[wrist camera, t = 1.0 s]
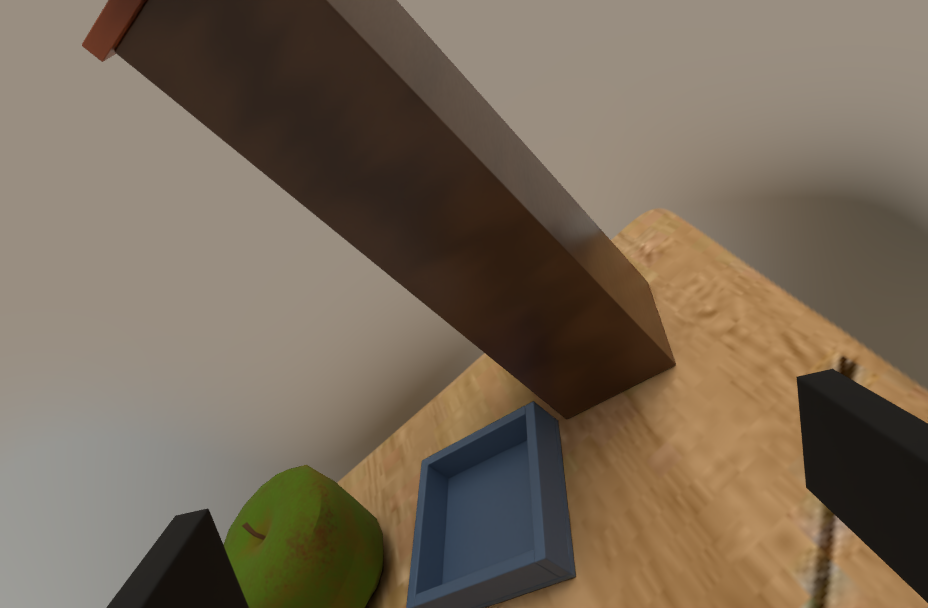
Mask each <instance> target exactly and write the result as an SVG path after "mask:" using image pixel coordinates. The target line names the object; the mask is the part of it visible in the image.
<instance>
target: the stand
mask: <svg viewBox="0 0 928 608" xmlns="http://www.w3.org/2000/svg"><path fill="white" fill-rule="evenodd" d="M82 46H83V47H84V48H85V49H87V50H88V51H89V52H90V53H92V54H93V55H94V56H95V57H97V58H98V59H99V60H101V61H102V62H103V61H105V60H106V59H108V58H110V57H111V56H113V55H114V54H118V55H119V56H120V57H121V58H123V59H124V60H125V61H126V62H127V63H129V64H130V65H131V66H132V67H134V68H135V69H136V70H137V71H139V72H140V73H141V74H142V75H144V76H145V77H146V78H147V79H148V80H150V81H151V82H152V83H153V84H155V85H156V86H157V87H158V88H160V89H161V90H162V91H163V92H165V93H166V94H167V95H168V96H169V97H171V98H172V99H173V100H174V101H176V102H177V103H178V104H179V105H181V106H182V107H183V108H184V109H185V110H187V111H188V112H189V113H190V114H192V115H193V116H194V117H195V118H196V119H198V120H199V121H200V122H201V123H203V124H204V125H205V126H206V127H207V128H209V129H210V130H211V131H212V132H214V133H215V134H216V135H217V136H219V137H220V138H221V139H222V140H223V141H225V142H226V143H227V144H228V145H230V146H231V147H232V148H233V149H235V150H236V151H237V152H238V153H240V154H241V155H242V156H243V157H244V158H246V159H247V160H248V161H249V162H251V163H252V164H253V165H254V166H255V167H257V168H258V169H259V170H260V171H262V172H263V173H264V174H265V175H267V176H268V177H269V178H270V179H271V180H273V181H274V182H275V183H277V184H278V185H279V186H280V187H281V188H283V189H284V190H285V191H286V192H287V193H289V194H290V195H291V196H292V197H294V198H295V199H296V200H297V201H299V202H300V203H301V204H302V205H304V206H305V207H306V208H307V209H308V210H310V211H311V212H312V213H313V214H315V215H316V216H317V217H318V218H320V219H321V220H322V221H323V222H325V223H326V224H327V225H328V226H329V227H331V228H332V229H333V230H334V231H335V232H337V233H338V234H339V235H341V236H342V237H343V238H344V239H345V240H347V241H348V242H349V243H350V244H352V245H353V246H354V247H355V248H356V249H358V250H359V251H360V252H361V253H363V254H364V255H365V256H366V257H367V258H369V259H370V260H371V261H372V262H374V263H375V264H376V265H377V266H379V267H380V268H381V269H382V270H384V271H385V272H386V273H387V274H388V275H390V276H391V277H392V278H393V279H394V280H396V281H397V282H398V283H399V284H401V285H402V286H403V287H404V288H406V289H407V290H408V291H409V292H411V293H412V294H413V295H414V296H415V297H417V298H418V299H419V300H420V301H422V302H423V303H424V304H425V305H426V306H428V307H429V308H430V309H431V310H433V311H434V312H435V313H436V314H438V315H439V316H440V317H441V318H443V319H444V320H445V321H446V322H447V323H449V324H450V325H451V326H452V327H454V328H455V329H456V330H457V331H459V332H460V333H461V334H462V335H463V336H465V337H466V338H467V339H468V340H470V341H471V342H472V343H473V344H474V345H476V346H477V347H478V348H479V349H481V350H482V351H483V352H484V353H486V354H487V355H488V356H489V357H490V358H492V359H493V360H494V361H495V362H497V363H498V364H499V365H500V366H502V367H503V368H504V369H505V370H506V371H508V372H509V373H510V374H511V375H513V376H514V377H515V378H516V379H518V380H519V381H520V382H521V383H522V384H524V385H525V386H526V387H527V388H529V389H530V390H531V391H532V392H534V393H535V394H536V395H537V396H538V397H540V398H541V399H542V400H543V401H545V402H546V403H547V404H548V405H550V406H551V407H552V408H553V409H554V410H556V411H557V412H558V413H559V414H561V415H562V416H563V417H564V418H566V419H568V418H570V417H572V416H574V415H576V414H578V413H580V412H582V411H584V410H586V409H588V408H590V407H592V406H594V405H596V404H598V403H600V402H602V401H604V400H606V399H608V398H610V397H612V396H614V395H616V394H618V393H620V392H622V391H624V390H626V389H628V388H630V387H632V386H634V385H636V384H638V383H640V382H642V381H644V380H646V379H648V378H650V377H652V376H654V375H656V374H658V373H660V372H662V371H664V370H666V369H668V368H670V367H672V366H674V365H676V364H675V361H674V358H673V355H672V352H671V349H670V346H669V343H668V340H667V337H666V334H665V331H664V328H663V325H662V323H661V320H660V317H659V314H658V311H657V308H656V305H655V302H654V299H653V296H652V293H651V290H650V288H649V285H648V282H647V281H646V280H645V278H644V277H643V276H642V275H641V274H640V273H639V272H638V271H637V269H636V268H635V267H634V266H633V265H632V264H631V263H630V262H629V261H628V259H627V258H626V257H625V256H624V255H623V254H622V253H621V252H620V250H619V249H618V248H617V247H616V246H615V245H614V244H613V243H612V241H611V240H610V239H609V238H608V237H607V236H606V235H605V234H604V232H603V231H602V230H601V229H600V228H599V227H598V226H597V225H596V223H595V222H594V221H593V220H592V219H591V218H590V217H589V216H588V215H587V213H586V212H585V211H584V210H583V209H582V208H581V207H580V206H579V204H577V202H576V201H575V200H574V199H573V198H572V197H571V195H570V194H569V193H568V192H567V191H566V190H565V189H564V188H563V186H561V184H560V183H559V182H558V181H557V180H556V179H555V178H554V177H553V175H552V174H551V173H550V172H549V171H548V170H547V168H546V167H545V166H544V165H543V164H542V163H541V162H540V161H539V160H538V158H537V157H536V156H535V155H534V154H533V153H532V152H531V151H530V149H529V148H528V147H527V146H526V145H525V144H524V143H523V142H522V140H521V139H520V138H519V137H518V136H517V135H516V134H515V133H514V131H513V130H512V129H511V128H510V127H509V126H508V125H507V124H506V123H505V121H504V120H503V119H502V118H501V117H500V116H499V115H498V114H497V112H496V111H495V110H494V109H493V108H492V107H491V106H490V105H489V104H488V102H487V101H486V100H485V99H484V98H483V97H482V96H481V94H480V93H479V92H478V91H477V90H476V89H475V88H474V87H473V86H472V84H471V83H470V82H469V81H468V80H467V79H466V78H465V77H464V75H463V74H462V73H461V72H460V71H459V70H458V69H457V68H456V66H454V64H453V63H452V62H451V61H450V60H449V59H448V57H447V56H446V55H445V54H444V53H443V52H442V51H441V50H440V48H439V47H438V46H437V45H436V44H435V43H434V42H433V41H432V40H431V38H430V37H429V36H428V35H427V34H426V33H425V32H424V30H423V29H422V28H421V27H420V26H419V25H418V24H417V23H416V21H415V20H414V19H413V18H412V17H411V16H410V15H409V14H408V13H407V11H406V10H405V9H404V8H403V7H402V6H401V5H400V4H399V2H398V1H397V0H108V2H107V4H106V5H105V7H104V9H103V10H102V12H101V13H100V15H99V17H98V18H97V20H96V22H95V23H94V25H93V27H92V28H91V30H90V32H89V33H88V35H87V37H86V38H85V40H84V42H83V43H82Z"/></svg>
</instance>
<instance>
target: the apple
mask: <svg viewBox="0 0 928 608" xmlns="http://www.w3.org/2000/svg"><path fill="white" fill-rule="evenodd" d="M224 548H225V550H226V553H227V555H228V558H229V560H230V563H231V565H232V567H233V570H234V572H235V575H236V577H237V580H238V582H239V584H240V587H241V589H242V592H243V594H244V597H245V599H246V602H247V604H248V606H249V608H365V606H366V604H367V603H368V601H369V599H370V598H371V596H372V594H373V593H374V591H375V589H376V587H377V586H378V583H379V579H380V576H381V572H382V569H383V534H382V531H381V529H380V526H379V523H378V521H377V519H376V518H375V517H374V516H373V515H372V514H371V513H370V512H369V511H368V510H366V509H365V508H364V507H363V506H362V505H361V504H360V503H359V502H358V501H357V500H355V499H354V498H353V497H352V496H351V495H350V494H349V493H347V492H346V491H345V490H344V489H343V488H342V487H340V486H339V485H338V484H337V483H336V482H335V481H333V480H331V479H330V478H328V477H326V476H325V475H323V474H321V473H319V472H318V471H316V470H314V469H313V468H311V467H309V466H308V465H304V466H299V467H296V468H291V469H288V470H286V471H284V472H281V473H279V474H277V475H275V476H274V477H273V478H272V479H270V480H269V481H268V482H266V483H265V484H264V485H262V486H261V487H260V488H259V490H258V491H257V492H256V493H255V494H254V495H253V496H252V497H251V498H250V499H249V500H248V502H247V503H246V504H245V505H244V506H243V508H242V510H241V511H240V513H239V514H238V516H237V517H236V519H235V521H234V522H233V524H232V525H231V527H230V529H229V531H228V534H227V537H226V539H225V542H224Z"/></svg>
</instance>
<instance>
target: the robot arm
mask: <svg viewBox="0 0 928 608" xmlns="http://www.w3.org/2000/svg"><path fill="white" fill-rule="evenodd" d="M797 386H798V398H799V410H800V421H801V433H802V444H803V456H804V467H805V479H806V488H807V489H808V490H809V491H811V492H812V493H813V494H814V495H815V496H816V497H817V498H818V499H819V500H820V501H821V502H822V503H823V504H824V505H825V506H826V507H827V508H828V509H829V510H831V511H832V512H833V513H834V514H835V515H836V516H837V517H838V518H839V519H840V520H841V521H842V522H843V523H844V524H845V525H846V526H847V527H848V528H849V529H851V530H852V531H853V532H854V533H855V534H856V535H857V536H858V537H859V538H860V539H861V540H862V541H863V542H864V543H865V544H866V545H867V546H868V547H869V548H870V549H872V550H873V551H874V552H875V553H876V554H877V555H878V556H879V557H880V558H881V559H882V560H883V561H884V562H885V563H886V564H887V565H888V566H889V567H890V568H892V569H893V570H894V571H895V572H896V573H897V574H898V575H899V576H900V577H901V578H902V579H903V580H904V581H905V582H906V583H907V584H908V585H909V586H910V587H912V588H913V589H914V590H915V591H916V592H917V593H918V594H919V595H920V596H921V597H922V598H923V599H924V600H925V601H926V602H927V603H928V423H926V422H924V421H922V420H921V419H919V418H917V417H915V416H914V415H912V414H910V413H908V412H907V411H905V410H903V409H901V408H900V407H898V406H896V405H895V404H893V403H891V402H889V401H888V400H886V399H884V398H882V397H881V396H879V395H877V394H875V393H874V392H872V391H870V390H868V389H867V388H865V387H863V386H861V385H860V384H858V383H856V382H854V381H853V380H851V379H849V378H848V377H846V376H844V375H842V374H841V373H839V372H837V371H835V370H834V369H830V370H825V371H821V372H816V373H812V374H808V375H803V376H799V377H797ZM107 608H249V606H248V604H247V602H246V599H245V597H244V594H243V592H242V589H241V587H240V584H239V582H238V580H237V577H236V575H235V572H234V570H233V567H232V565H231V563H230V560H229V558H228V555H227V553H226V550H225V548H224V545H223V543H222V541H221V538H220V536H219V533H218V531H217V529H216V526H215V524H214V521H213V519H212V516H211V514H210V512H209V509H204V510H199V511H195V512H190V513H186V514H181V515H177V516H175V517H174V518H173V520H172V521H171V522H170V524H169V525H168V526H167V528H166V529H165V530H164V532H163V533H162V534H161V536H160V537H159V538H158V540H157V541H156V543H155V544H154V545H153V546H152V548H151V549H150V550H149V552H148V553H147V554H146V556H145V557H144V558H143V560H142V561H141V563H140V564H139V565H138V566H137V568H136V569H135V570H134V572H133V573H132V574H131V576H130V577H129V578H128V580H127V581H126V582H125V584H124V585H123V587H122V588H121V589H120V591H119V592H118V593H117V594H116V596H115V597H114V598H113V600H112V601H111V602H110V604H109V605H108V606H107Z"/></svg>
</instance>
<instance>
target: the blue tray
mask: <svg viewBox="0 0 928 608" xmlns="http://www.w3.org/2000/svg"><path fill="white" fill-rule="evenodd" d="M573 577H576V574H575V565H574V556H573V548H572V539H571V530H570V521H569V512H568V504H567V495H566V486H565V477H564V469H563V460H562V451H561V442H560V434H559V425H558V420H557V419H555V418H554V417H553V416H551V415H550V414H549V413H548V412H546V411H545V410H544V409H543V408H541V407H540V406H539V405H538V404H536V403H535V402H534V401H533V402H531V403H529V404H527V405H526V406H523V407H521V408H519V409H517V410H516V411H514V412H512V413H510V414H508V415H506V416H504V417H502V418H501V419H499V420H497V421H495V422H493V423H491V424H489V425H487V426H486V427H484V428H482V429H480V430H478V431H476V432H474V433H472V434H471V435H469V436H467V437H465V438H463V439H461V440H459V441H457V442H456V443H454V444H452V445H450V446H448V447H446V448H444V449H442V450H441V451H439V452H437V453H435V454H433V455H431V456H429V458H426V459H424V460H422V464H421V474H420V483H419V493H418V502H417V512H416V521H415V531H414V540H413V550H412V559H411V568H410V578H409V587H408V597H407V606H406V608H485V607H488V606H491V605H494V604H497V603H500V602H503V601H506V600H509V599H512V598H515V597H517V596H520V595H523V594H526V593H529V592H532V591H535V590H538V589H541V588H544V587H547V586H550V585H553V584H556V583H559V582H562V581H565V580H567V579H570V578H573Z"/></svg>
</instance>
